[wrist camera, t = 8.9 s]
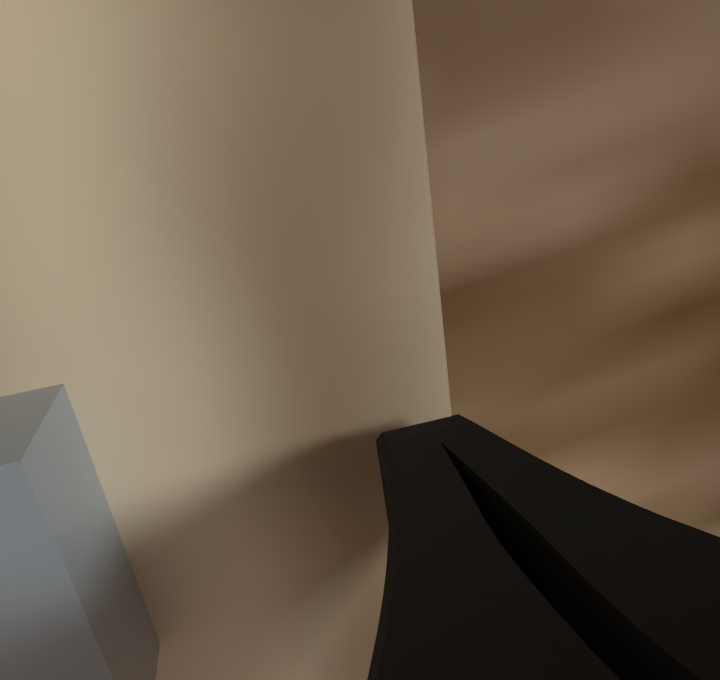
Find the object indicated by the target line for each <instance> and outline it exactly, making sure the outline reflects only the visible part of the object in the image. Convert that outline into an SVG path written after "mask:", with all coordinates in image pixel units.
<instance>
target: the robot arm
mask: <svg viewBox="0 0 720 680" xmlns="http://www.w3.org/2000/svg"><path fill="white" fill-rule="evenodd" d="M376 446H377V453H378V459H379V466H380V472H381V479H382V485H383V492H384V499H385V505H386V512H387V518H388V525H389V535H388V550H387V565H386V575H385V584H384V591H383V599H382V605H381V612H380V618H379V624H378V630H377V635H376V640H375V645H374V650H373V654H372V659H371V664H370V669H369V674H368V678H367V680H720V537H718V536H715V535H712V534H709V533H707V532H704V531H701V530H699V529H696V528H693V527H691V526H688V525H685V524H683V523H680V522H677V521H675V520H672V519H669V518H666V517H664V516H661V515H659V514H656V513H654V512H651V511H649V510H647V509H644V508H642V507H639V506H637V505H635V504H632V503H630V502H628V501H626V500H623V499H621V498H619V497H617V496H615V495H612V494H610V493H608V492H606V491H604V490H601V489H599V488H597V487H595V486H593V485H590V484H588V483H586V482H584V481H582V480H580V479H578V478H576V477H574V476H572V475H570V474H568V473H566V472H564V471H562V470H560V469H558V468H556V467H554V466H552V465H550V464H548V463H547V462H545V461H543V460H541V459H539V458H537V457H535V456H533V455H532V454H530V453H528V452H526V451H524V450H522V449H520V448H519V447H517V446H515V445H513V444H511V443H510V442H508V441H506V440H504V439H502V438H501V437H499V436H497V435H495V434H494V433H492V432H490V431H488V430H486V429H485V428H483V427H481V426H479V425H478V424H476V423H474V422H472V421H470V420H468V419H466V418H464V417H462V416H460V415H454V416H450V417H445V418H441V419H437V420H433V421H428V422H424V423H420V424H416V425H411V426H407V427H403V428H399V429H394V430H390V431H386V432H382V433H381V434H380V436H379V437H378V438H377V440H376Z"/></svg>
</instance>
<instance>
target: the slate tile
mask: <svg viewBox="0 0 720 680" xmlns="http://www.w3.org/2000/svg"><path fill="white" fill-rule="evenodd" d="M159 646H160V642H159V640H158V637H157V634H156V631H155V629H154V626H153V623H152V621H151V618H150V615H149V613H148V610H147V607H146V604H145V602H144V599H143V596H142V594H141V591H140V588H139V586H138V583H137V580H136V577H135V575H134V572H133V569H132V567H131V564H130V561H129V559H128V556H127V553H126V550H125V548H124V545H123V542H122V540H121V537H120V534H119V532H118V529H117V526H116V524H115V521H114V518H113V515H112V513H111V510H110V507H109V505H108V502H107V499H106V497H105V494H104V491H103V488H102V486H101V483H100V480H99V478H98V475H97V472H96V470H95V467H94V464H93V461H92V459H91V456H90V453H89V451H88V448H87V445H86V443H85V440H84V437H83V434H82V432H81V429H80V426H79V424H78V421H77V418H76V416H75V413H74V410H73V407H72V405H71V402H70V399H69V397H68V394H67V391H66V389H65V386H64V384H59V385H54V386H49V387H45V388H40V389H35V390H30V391H26V392H21V393H16V394H11V395H7V396H2V397H0V680H156V672H157V664H158V655H159Z"/></svg>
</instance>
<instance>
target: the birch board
mask: <svg viewBox="0 0 720 680" xmlns="http://www.w3.org/2000/svg"><path fill="white" fill-rule="evenodd" d="M59 384H64V386H65V389H66V391H67V394H68V397H69V399H70V402H71V405H72V407H73V410H74V413H75V416H76V418H77V421H78V424H79V426H80V429H81V432H82V434H83V437H84V440H85V443H86V445H87V448H88V451H89V453H90V456H91V459H92V461H93V464H94V467H95V470H96V472H97V475H98V478H99V480H100V483H101V486H102V488H103V491H104V494H105V497H106V499H107V502H108V505H109V507H110V510H111V513H112V515H113V518H114V521H115V524H116V526H117V529H118V532H119V534H120V537H121V540H122V542H123V545H124V548H125V550H126V553H127V556H128V559H129V561H130V564H131V567H132V569H133V572H134V575H135V577H136V580H137V583H138V586H139V588H140V591H141V594H142V596H143V599H144V602H145V604H146V607H147V610H148V613H149V615H150V618H151V621H152V623H153V626H154V629H155V631H156V634H157V637H158V640H159V642H160V646H159V655H158V664H157V672H156V680H367V678H368V674H369V669H370V664H371V659H372V654H373V650H374V645H375V640H376V635H377V630H378V624H379V618H380V612H381V605H382V599H383V591H384V584H385V575H386V565H387V550H388V535H389V525H388V518H387V512H386V505H385V499H384V492H383V485H382V479H381V472H380V466H379V459H378V453H377V446H376V440H377V438H378V437H379V436H380V434H381V433H382V432H386V431H390V430H394V429H399V428H403V427H407V426H411V425H416V424H420V423H424V422H428V421H433V420H437V419H441V418H445V417H450V416H452V415H451V405H450V394H449V383H448V373H447V362H446V352H445V341H444V331H443V320H442V310H441V299H440V289H439V278H438V268H437V257H436V247H435V236H434V225H433V215H432V204H431V194H430V183H429V173H428V162H427V152H426V141H425V131H424V120H423V110H422V99H421V89H420V78H419V67H418V57H417V46H416V36H415V25H414V15H413V4H412V0H0V397H2V396H7V395H11V394H16V393H21V392H26V391H30V390H35V389H40V388H45V387H49V386H54V385H59Z"/></svg>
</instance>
